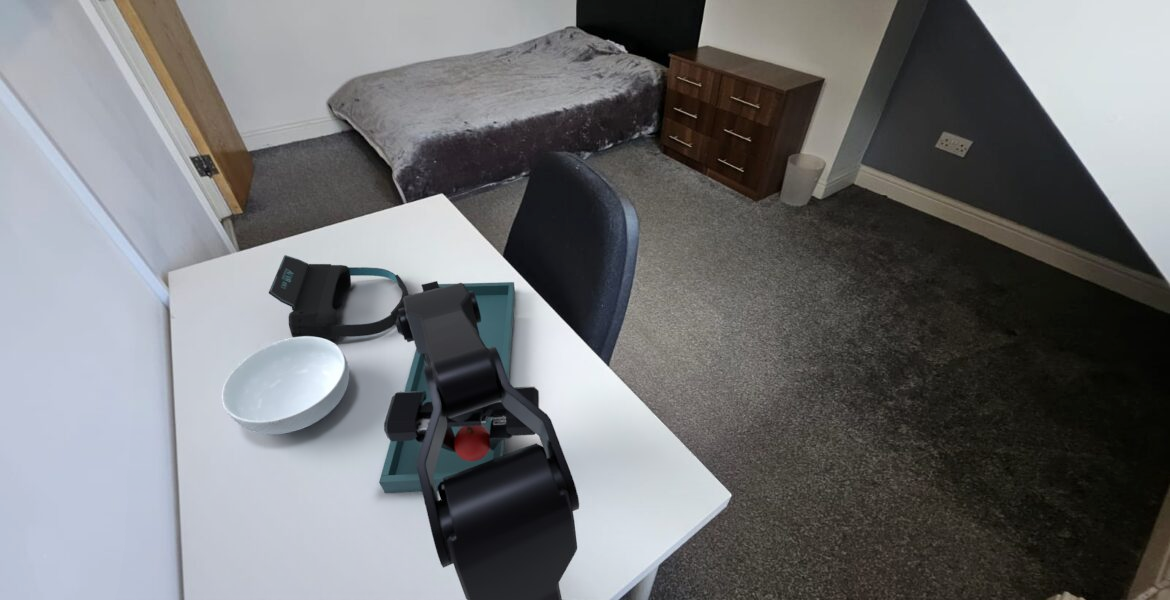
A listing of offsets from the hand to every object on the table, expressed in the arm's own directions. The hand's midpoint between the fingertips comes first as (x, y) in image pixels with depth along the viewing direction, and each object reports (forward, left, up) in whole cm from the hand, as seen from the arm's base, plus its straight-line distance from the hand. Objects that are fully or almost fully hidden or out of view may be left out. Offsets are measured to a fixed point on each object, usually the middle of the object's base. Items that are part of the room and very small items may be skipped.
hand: (474, 448), depth 65 cm
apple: (0, 0, -1) cm, 1 cm away
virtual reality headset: (+34, +28, -5) cm, 44 cm away
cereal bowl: (+12, +30, -5) cm, 32 cm away
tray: (+17, +5, -4) cm, 19 cm away
